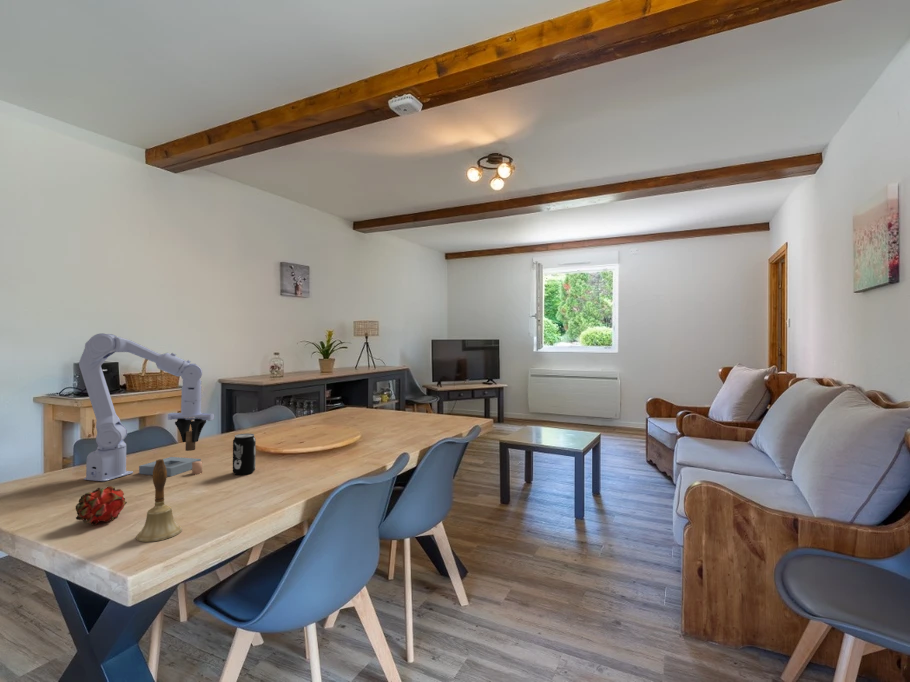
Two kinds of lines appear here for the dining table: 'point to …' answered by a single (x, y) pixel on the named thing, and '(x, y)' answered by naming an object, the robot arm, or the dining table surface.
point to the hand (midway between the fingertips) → (190, 441)
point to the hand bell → (159, 511)
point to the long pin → (189, 441)
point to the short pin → (197, 467)
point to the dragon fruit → (100, 505)
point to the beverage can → (244, 454)
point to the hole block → (170, 466)
